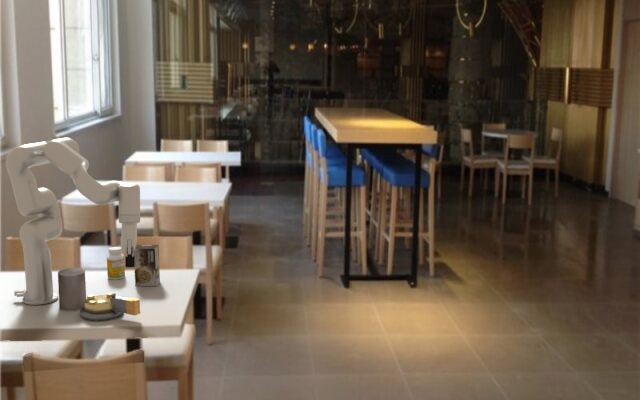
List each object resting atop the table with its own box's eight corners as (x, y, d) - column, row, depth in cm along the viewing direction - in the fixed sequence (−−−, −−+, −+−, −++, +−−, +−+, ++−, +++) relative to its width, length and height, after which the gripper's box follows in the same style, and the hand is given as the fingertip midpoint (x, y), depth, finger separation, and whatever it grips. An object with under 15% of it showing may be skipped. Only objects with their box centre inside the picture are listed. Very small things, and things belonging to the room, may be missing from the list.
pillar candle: (56, 305, 267) (53, 267, 264) (81, 300, 273) (79, 262, 270) (64, 312, 260) (62, 273, 257) (90, 307, 266) (88, 269, 263)
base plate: (78, 322, 249) (78, 316, 249) (82, 308, 264) (81, 302, 263) (122, 319, 253) (122, 313, 252) (124, 306, 267) (123, 299, 267)
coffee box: (160, 281, 298) (159, 244, 295) (156, 286, 291) (155, 248, 288) (138, 281, 298) (137, 244, 295) (134, 286, 291) (133, 248, 288)
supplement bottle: (107, 275, 305) (106, 246, 303) (124, 274, 307) (123, 245, 305) (107, 280, 299) (106, 250, 296) (125, 279, 301) (124, 249, 298)
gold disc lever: (77, 310, 255) (76, 294, 254) (99, 301, 266) (99, 285, 265) (126, 320, 246) (126, 303, 245) (148, 309, 257) (147, 293, 256)
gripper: (119, 213, 263) (120, 261, 266) (117, 222, 248) (118, 273, 252) (140, 213, 264) (140, 260, 268) (140, 222, 250) (140, 272, 254)
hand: (130, 266), depth 260 cm, fingers closed
